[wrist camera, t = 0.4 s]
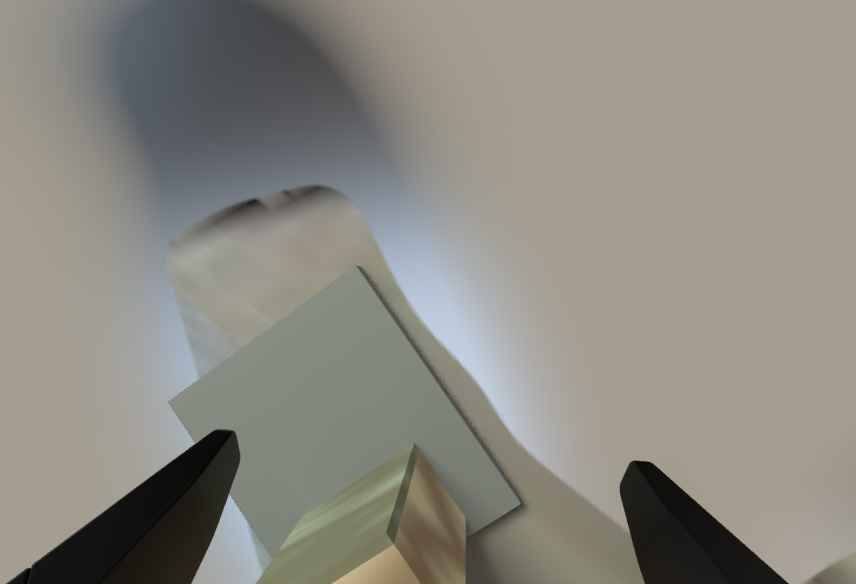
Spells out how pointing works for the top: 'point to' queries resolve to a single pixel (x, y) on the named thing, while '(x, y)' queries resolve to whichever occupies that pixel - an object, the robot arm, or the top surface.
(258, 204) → the top surface
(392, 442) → the slate mat
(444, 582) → the tile block
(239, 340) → the top surface
